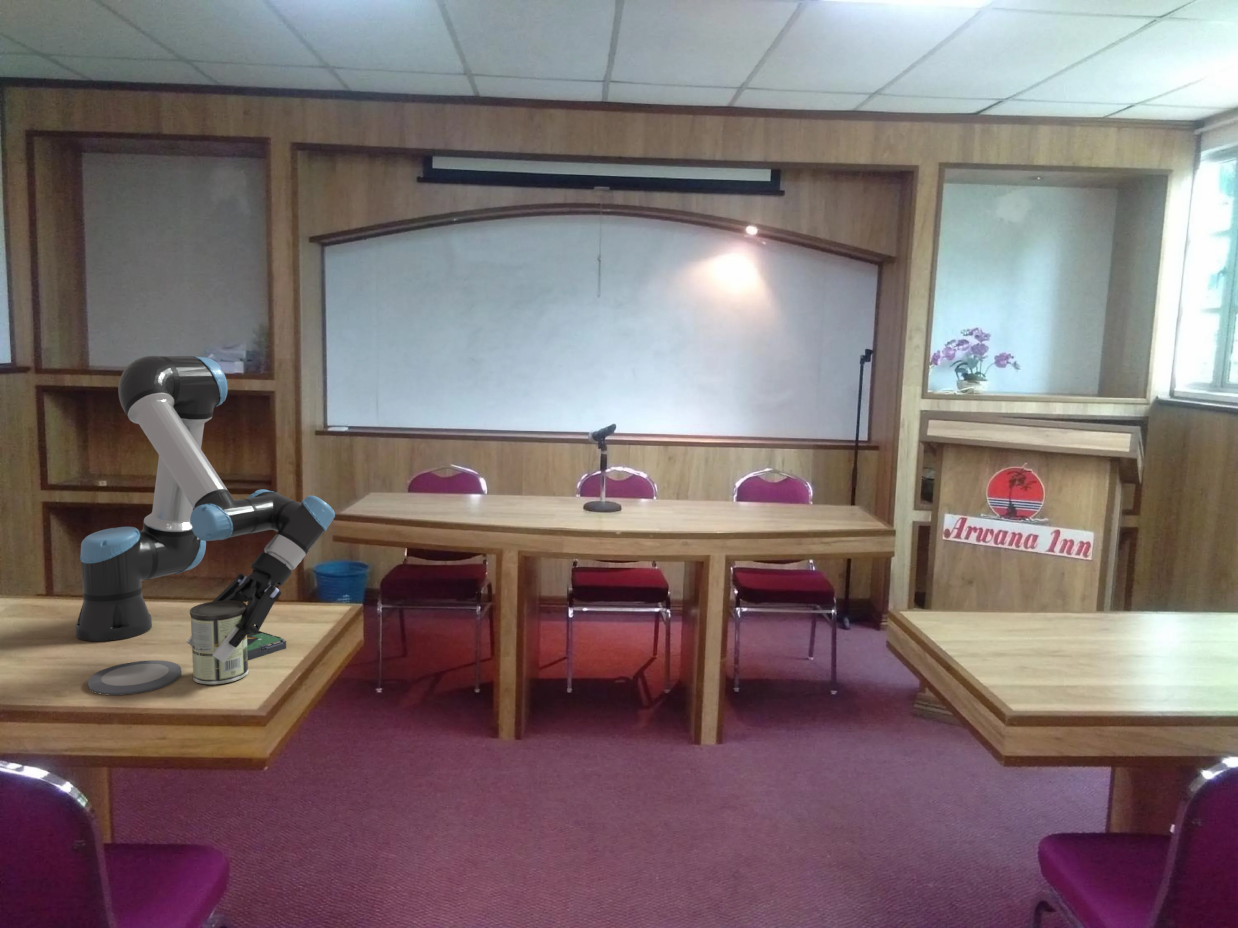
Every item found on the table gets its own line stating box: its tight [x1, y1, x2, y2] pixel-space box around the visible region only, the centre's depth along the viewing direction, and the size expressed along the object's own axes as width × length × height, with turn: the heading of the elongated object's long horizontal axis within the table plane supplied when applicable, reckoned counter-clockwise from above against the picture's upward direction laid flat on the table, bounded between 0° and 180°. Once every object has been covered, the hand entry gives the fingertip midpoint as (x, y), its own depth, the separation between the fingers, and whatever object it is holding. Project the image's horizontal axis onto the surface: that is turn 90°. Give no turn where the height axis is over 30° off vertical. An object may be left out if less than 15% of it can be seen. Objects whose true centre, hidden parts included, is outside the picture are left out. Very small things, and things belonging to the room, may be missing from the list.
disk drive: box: [247, 630, 287, 661], centre depth 187 cm, size 10×3×15 cm
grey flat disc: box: [87, 659, 182, 696], centre depth 168 cm, size 16×16×1 cm
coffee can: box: [189, 600, 250, 685], centre depth 170 cm, size 10×10×14 cm
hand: (204, 652), depth 168 cm, fingers closed on coffee can, 10 cm apart
